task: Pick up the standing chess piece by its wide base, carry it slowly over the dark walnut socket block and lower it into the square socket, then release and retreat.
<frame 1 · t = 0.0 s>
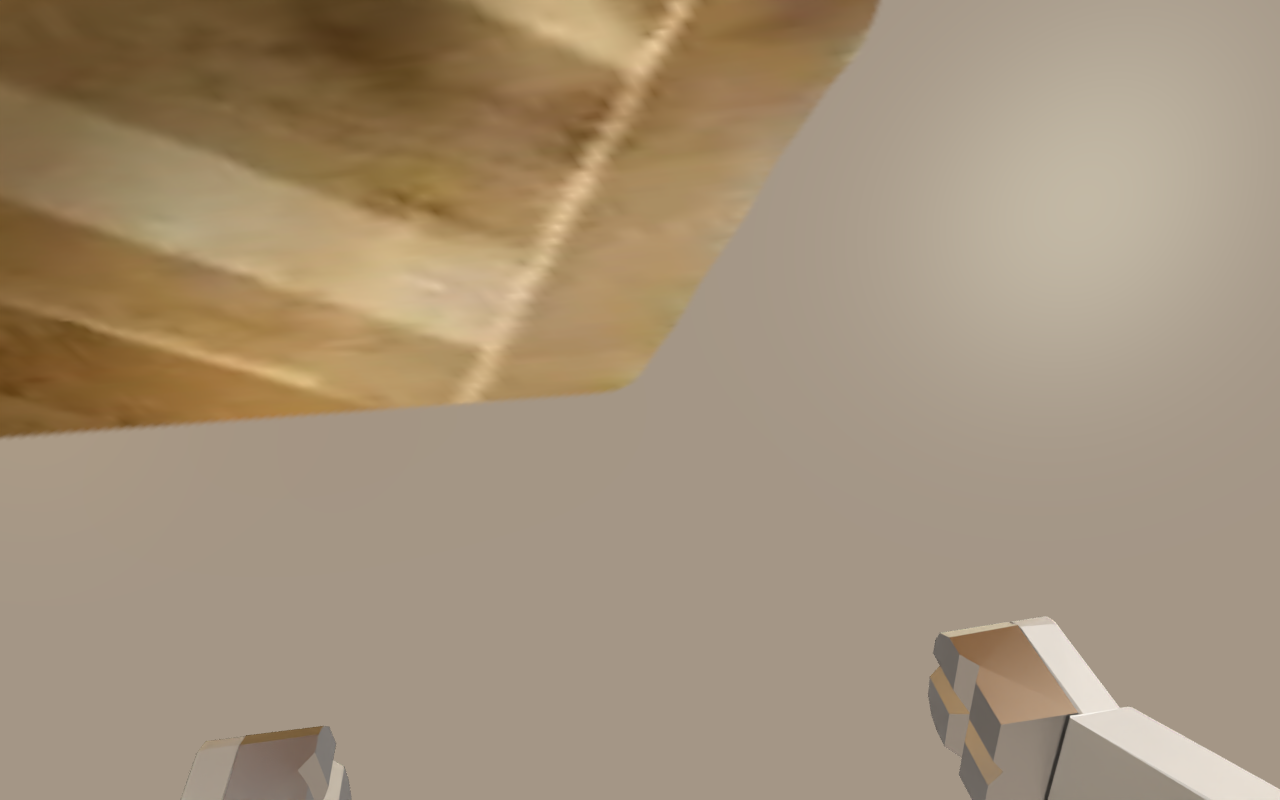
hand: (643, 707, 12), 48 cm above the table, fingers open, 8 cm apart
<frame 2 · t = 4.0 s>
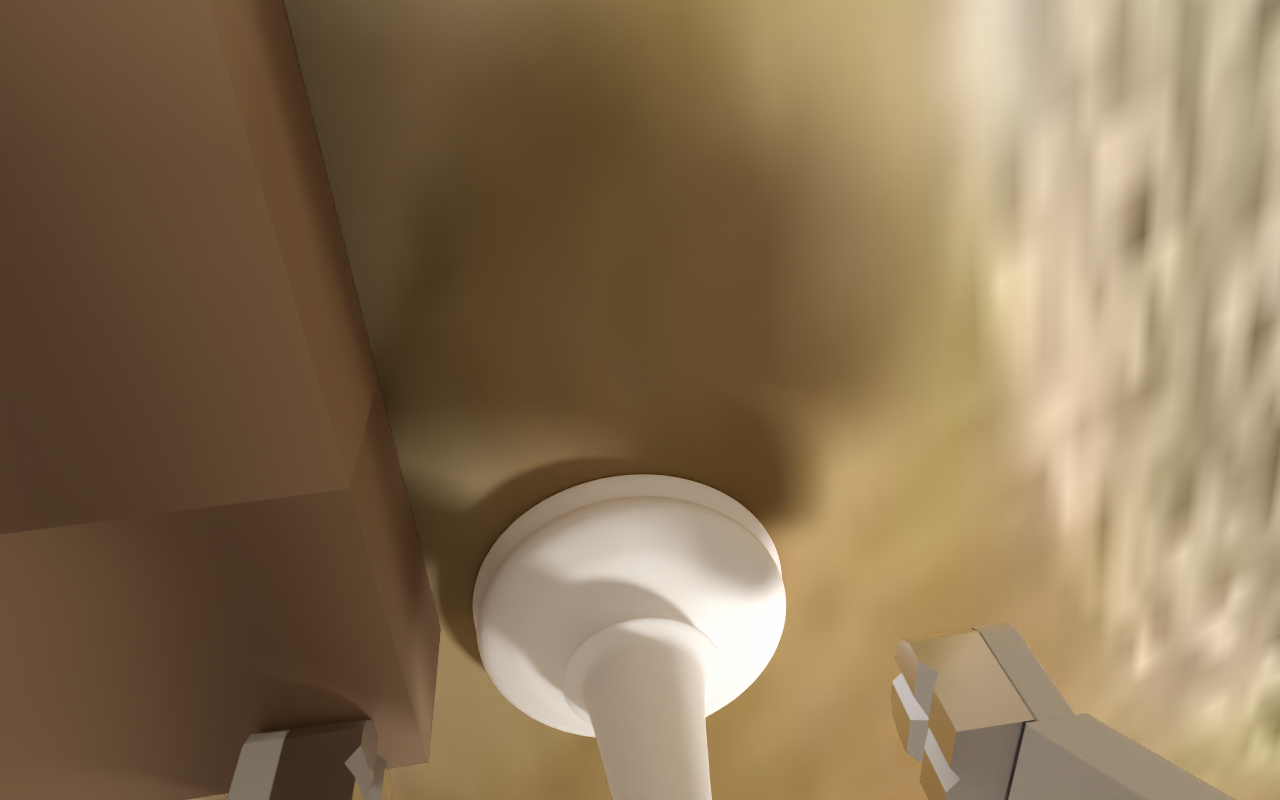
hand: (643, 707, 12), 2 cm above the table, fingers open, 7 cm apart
chess piece: (628, 591, 15), on the table
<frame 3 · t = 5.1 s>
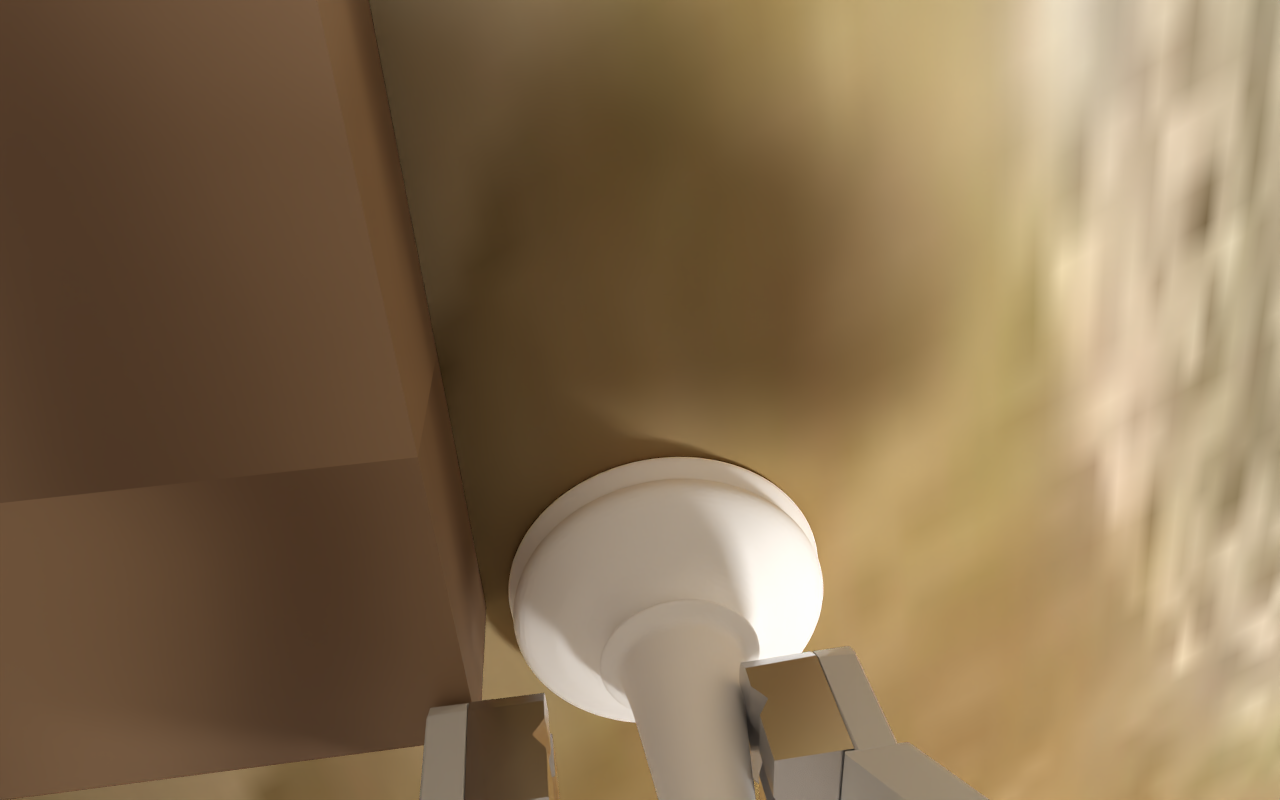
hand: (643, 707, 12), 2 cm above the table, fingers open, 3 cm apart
chess piece: (663, 575, 15), on the table, touching gripper
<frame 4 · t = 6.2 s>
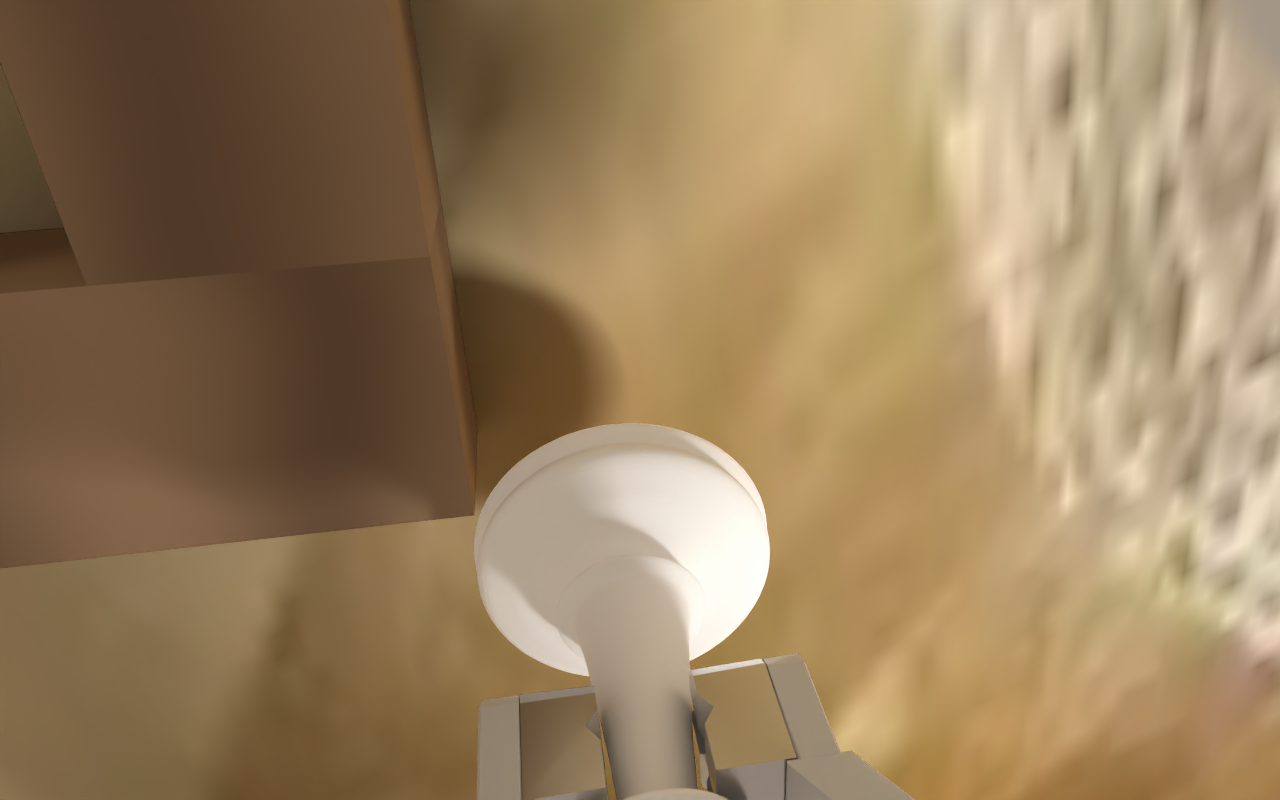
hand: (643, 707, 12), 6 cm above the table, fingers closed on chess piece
chess piece: (621, 538, 15), point 2 cm above the table, touching gripper
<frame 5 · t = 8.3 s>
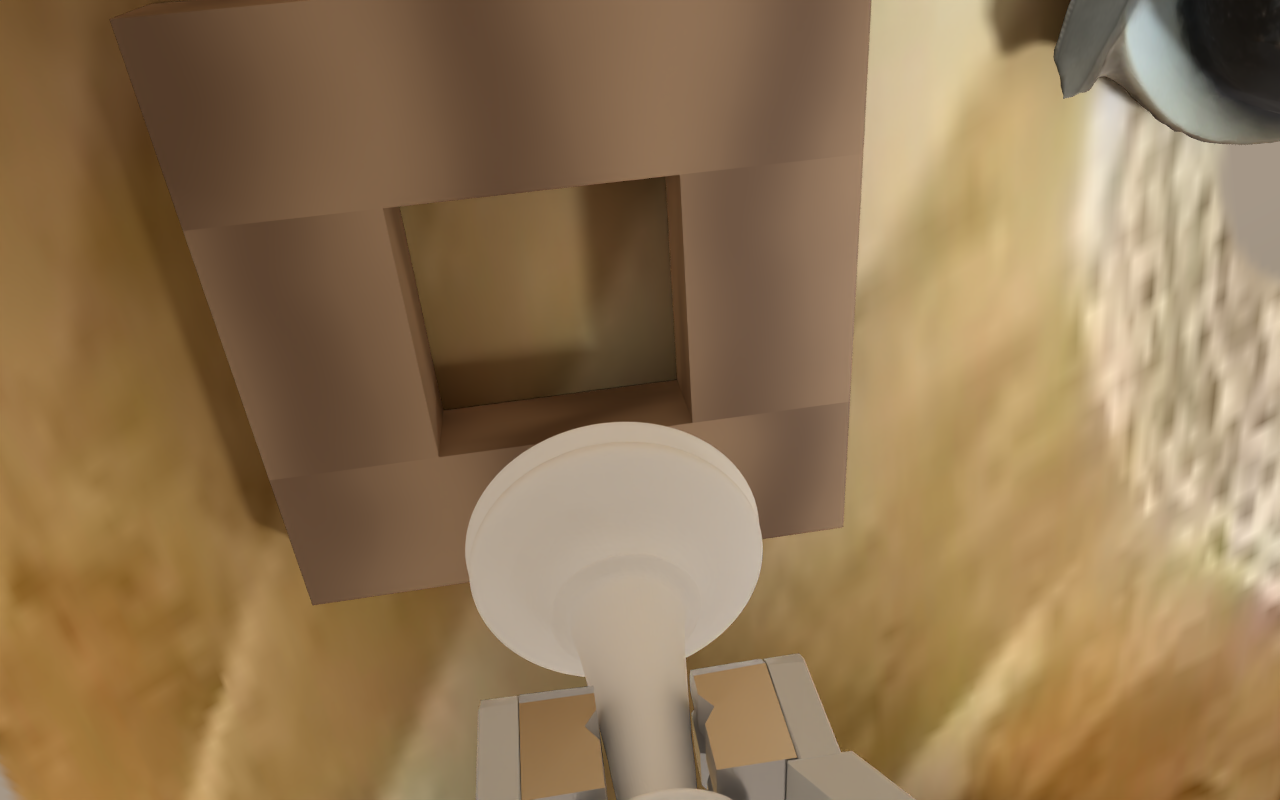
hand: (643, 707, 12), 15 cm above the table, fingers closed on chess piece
socket block: (546, 286, 25), on the table
chess piece: (613, 537, 15), point 11 cm above the table, touching gripper
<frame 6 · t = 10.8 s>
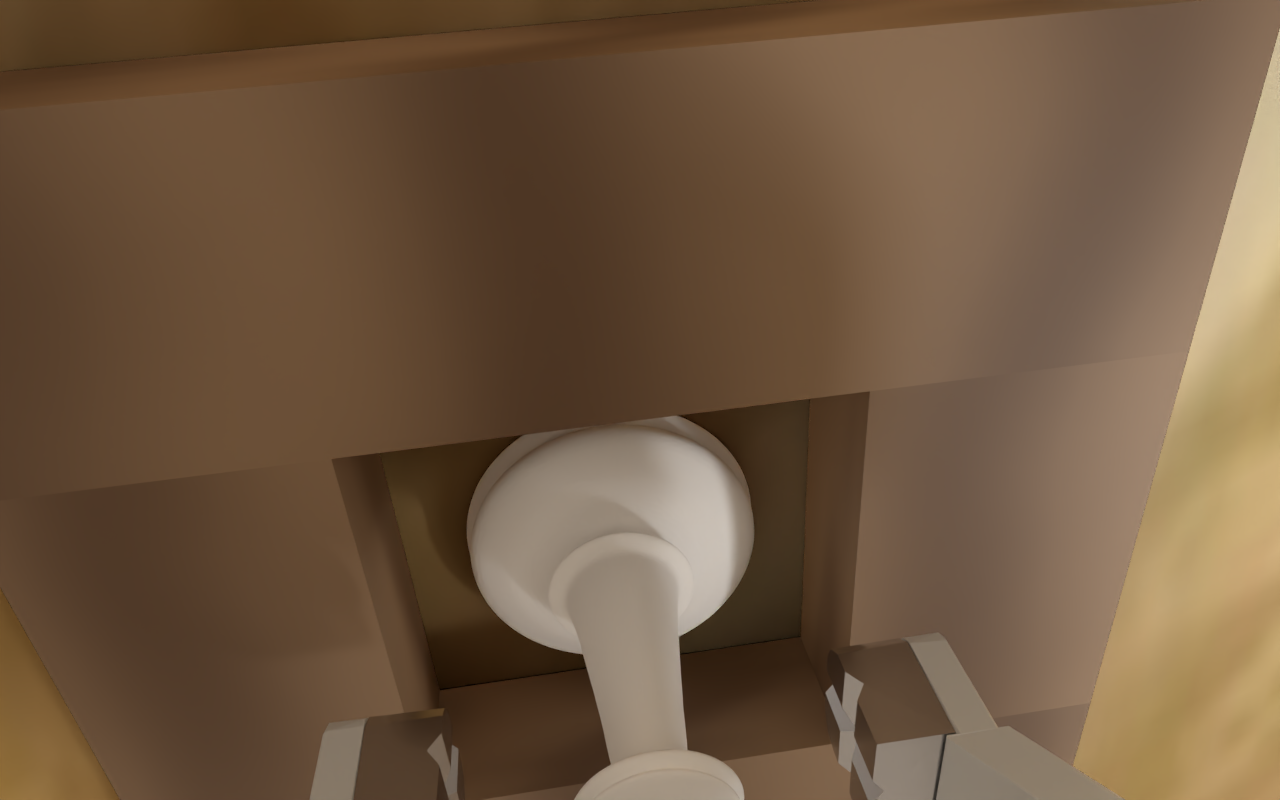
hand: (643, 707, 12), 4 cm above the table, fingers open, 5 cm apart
socket block: (608, 519, 16), on the table
chess piece: (609, 519, 16), resting in socket block
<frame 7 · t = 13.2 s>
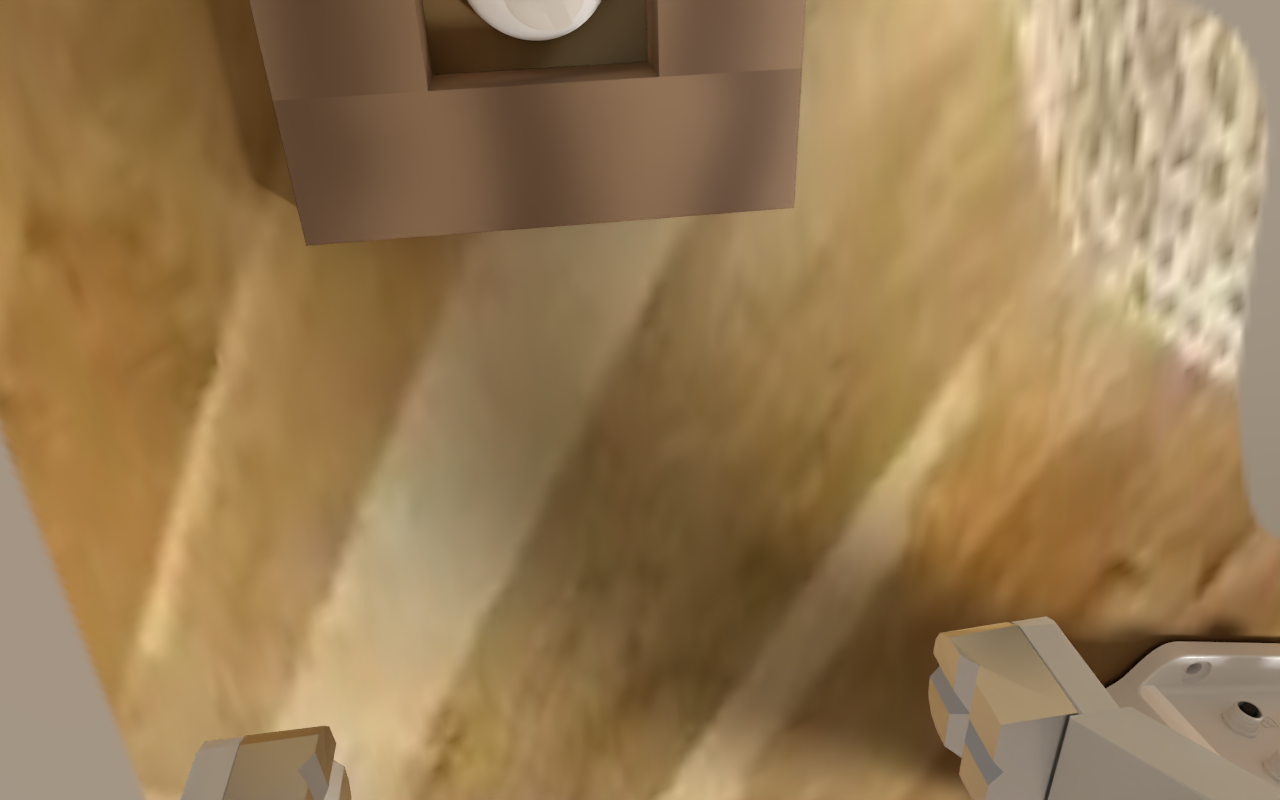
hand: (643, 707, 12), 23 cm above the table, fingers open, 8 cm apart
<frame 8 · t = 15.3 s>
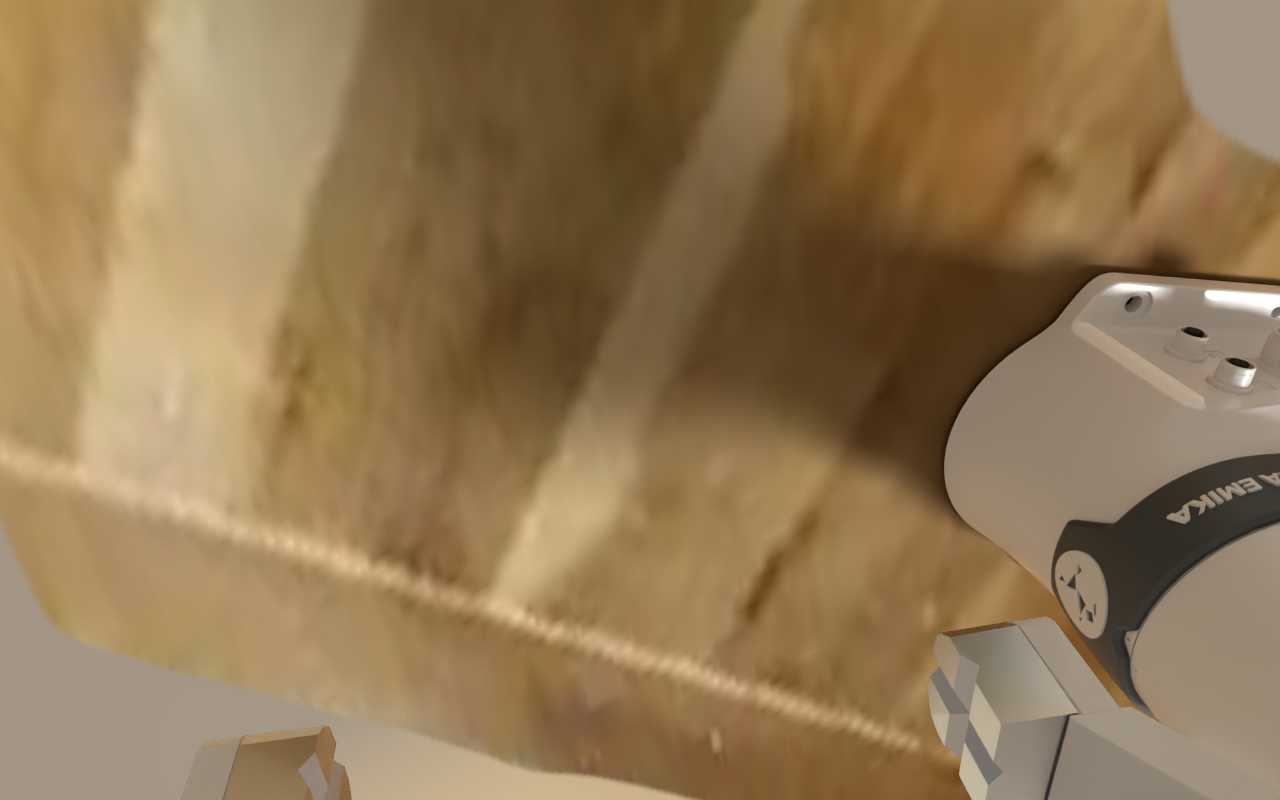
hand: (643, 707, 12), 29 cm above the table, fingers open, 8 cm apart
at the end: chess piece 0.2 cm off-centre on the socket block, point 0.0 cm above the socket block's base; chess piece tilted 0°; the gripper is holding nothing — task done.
